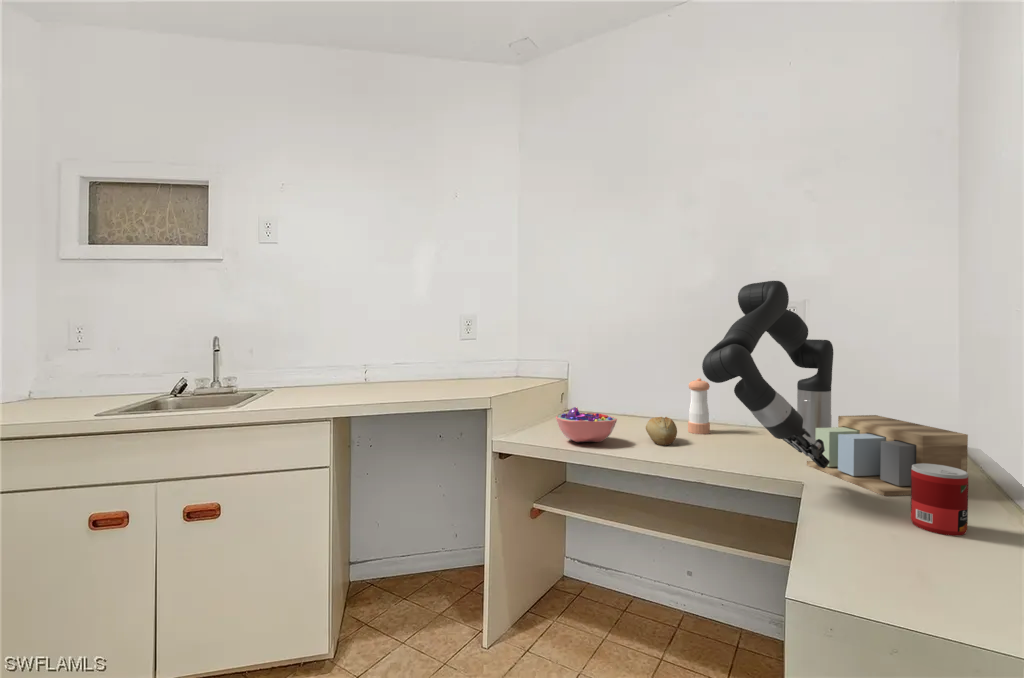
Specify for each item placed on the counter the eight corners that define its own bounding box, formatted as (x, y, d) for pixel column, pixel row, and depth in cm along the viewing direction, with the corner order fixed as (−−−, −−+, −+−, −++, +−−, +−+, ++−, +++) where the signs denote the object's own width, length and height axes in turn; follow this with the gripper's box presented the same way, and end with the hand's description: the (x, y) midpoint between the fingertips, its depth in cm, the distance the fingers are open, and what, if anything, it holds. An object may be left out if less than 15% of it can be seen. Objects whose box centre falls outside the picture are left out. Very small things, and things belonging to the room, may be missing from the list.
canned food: (972, 540, 86) (973, 477, 86) (913, 530, 90) (914, 470, 90) (961, 525, 93) (962, 467, 92) (907, 516, 97) (908, 461, 97)
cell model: (612, 450, 150) (612, 413, 150) (549, 445, 157) (549, 410, 157) (620, 438, 166) (620, 405, 165) (562, 434, 173) (562, 402, 172)
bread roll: (670, 436, 169) (670, 413, 169) (682, 447, 154) (682, 421, 154) (641, 436, 170) (641, 413, 170) (650, 446, 155) (651, 421, 155)
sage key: (815, 461, 132) (815, 427, 131) (850, 460, 132) (850, 427, 132) (829, 466, 127) (829, 431, 126) (865, 465, 127) (865, 430, 127)
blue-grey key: (837, 470, 124) (838, 434, 123) (874, 468, 125) (875, 433, 124) (853, 476, 119) (853, 438, 118) (891, 474, 120) (892, 437, 119)
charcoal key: (880, 479, 116) (880, 441, 116) (919, 477, 117) (919, 440, 117) (899, 486, 111) (899, 446, 111) (939, 484, 112) (940, 445, 112)
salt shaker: (713, 434, 172) (713, 379, 172) (692, 434, 172) (692, 379, 172) (705, 429, 179) (705, 377, 179) (685, 429, 179) (685, 377, 179)
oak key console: (806, 464, 133) (807, 416, 133) (875, 462, 135) (875, 415, 135) (884, 495, 109) (885, 436, 108) (966, 492, 111) (967, 434, 110)
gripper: (806, 406, 106) (858, 460, 108) (768, 397, 119) (815, 445, 121) (783, 431, 106) (835, 485, 107) (747, 420, 119) (794, 468, 120)
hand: (824, 464), depth 114 cm, fingers closed
